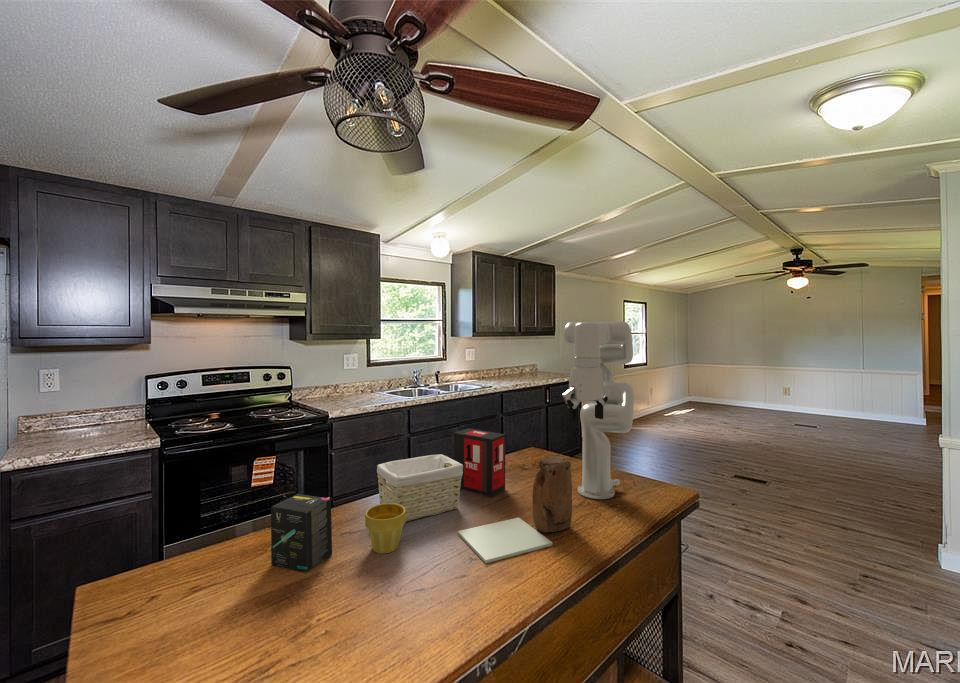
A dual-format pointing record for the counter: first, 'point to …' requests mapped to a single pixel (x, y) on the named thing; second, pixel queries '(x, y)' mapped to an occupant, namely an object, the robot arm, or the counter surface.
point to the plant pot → (385, 526)
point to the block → (552, 495)
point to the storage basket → (421, 484)
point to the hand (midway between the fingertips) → (586, 419)
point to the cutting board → (503, 539)
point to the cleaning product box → (481, 461)
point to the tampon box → (301, 532)
